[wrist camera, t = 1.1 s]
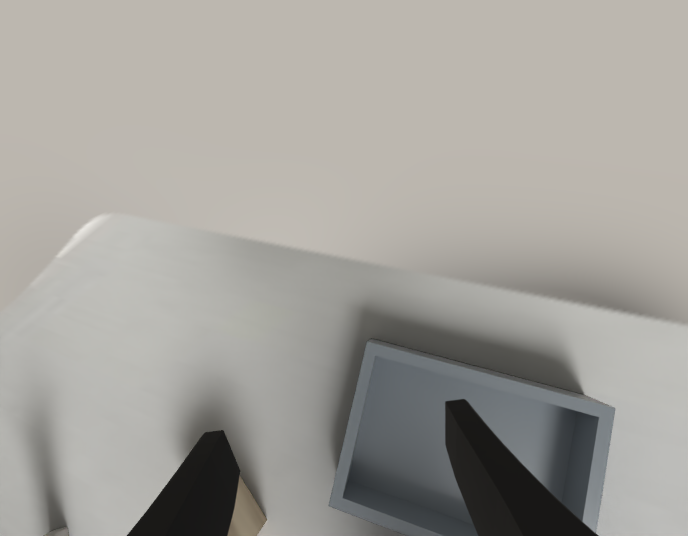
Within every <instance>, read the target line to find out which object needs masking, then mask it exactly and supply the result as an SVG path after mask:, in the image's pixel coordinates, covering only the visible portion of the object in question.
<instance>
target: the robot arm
mask: <svg viewBox="0 0 688 536" xmlns="http://www.w3.org/2000/svg"><path fill="white" fill-rule="evenodd" d="M445 445H446V449H447V452H448V456H449V459H450V463H451V466H452V469H453V472H454V476H455V479H456V482H457V484H458V487H459V489H460V492H461V494H462V497H463V499H464V502H465V504H466V507H467V509H468V512H469V514H470V517H471V519H472V522H473V524H474V527H475V529H476V531H477V534H478V536H598V535H597V534H596V533H595V532H594V531H592V530H591V529H590V528H589V527H588V526H587V525H586V524H585V523H583V522H582V521H581V520H580V519H579V518H578V517H577V516H576V515H574V514H573V513H572V512H571V511H570V510H569V509H568V508H567V507H566V506H565V505H564V504H562V503H561V502H560V501H559V500H558V499H557V498H556V497H555V496H554V495H553V494H552V493H551V492H550V491H549V490H548V489H547V488H546V487H545V486H544V485H543V484H542V483H541V482H540V481H539V480H538V479H537V478H536V477H535V476H534V475H533V474H532V473H531V472H530V471H529V470H528V469H527V468H526V467H525V466H524V465H523V464H522V463H521V462H520V461H519V460H518V459H517V458H516V457H515V456H514V454H513V453H512V452H511V451H510V450H509V449H508V448H507V447H506V446H505V445H504V444H503V443H502V442H501V440H500V439H499V438H498V437H497V436H496V435H495V434H494V432H493V431H492V430H491V429H490V428H489V427H488V426H487V424H486V423H485V422H484V421H483V420H482V418H481V417H480V416H479V415H478V414H477V412H476V411H475V410H474V409H473V407H472V406H471V405H470V404H469V402H468V401H467V400H465V399H459V400H451V401H445ZM239 476H240V469H239V467H238V464H237V462H236V459H235V457H234V455H233V452H232V450H231V447H230V445H229V443H228V440H227V438H226V435H225V433H224V431H223V430H221V431H213V432H205V433H204V434H203V436H202V437H201V438H200V440H199V441H198V442H197V444H196V445H195V446H194V448H193V449H192V451H191V452H190V453H189V455H188V456H187V457H186V459H185V460H184V462H183V463H182V464H181V466H180V467H179V469H178V470H177V471H176V473H175V474H174V475H173V477H172V478H171V479H170V481H169V482H168V483H167V485H166V486H165V487H164V489H163V490H162V491H161V493H160V494H159V495H158V497H157V498H156V499H155V501H154V502H153V503H152V505H151V506H150V507H149V509H148V510H147V511H146V513H145V514H144V515H143V516H142V518H141V519H140V520H139V521H138V523H137V524H136V525H135V526H134V527H133V529H132V530H131V531H130V532H129V534H128V535H127V536H227V535H228V532H229V528H230V524H231V520H232V516H233V512H234V508H235V502H236V496H237V490H238V483H239Z"/></svg>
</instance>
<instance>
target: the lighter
mask: <svg viewBox="0 0 688 536" xmlns="http://www.w3.org/2000/svg"><path fill="white" fill-rule="evenodd" d="M44 536H69V532H68V528H67V527H63V528H60V529H57V530H53V531H50V532H49V533H47V534H46V535H44Z"/></svg>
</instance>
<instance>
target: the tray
mask: <svg viewBox="0 0 688 536" xmlns="http://www.w3.org/2000/svg"><path fill="white" fill-rule="evenodd" d="M459 399H465V400H467V401H468V402H469V404H470V405H471V406H472V407H473V409H474V410H475V411H476V412H477V414H478V415H479V416H480V417H481V418H482V420H483V421H484V422H485V423H486V424H487V426H488V427H489V428H490V429H491V430H492V431H493V432H494V434H495V435H496V436H497V437H498V438H499V439H500V440H501V442H502V443H503V444H504V445H505V446H506V447H507V448H508V449H509V450H510V451H511V452H512V453H513V454H514V456H515V457H516V458H517V459H518V460H519V461H520V462H521V463H522V464H523V465H524V466H525V467H526V468H527V469H528V470H529V471H530V472H531V473H532V474H533V475H534V476H535V477H536V478H537V479H538V480H539V481H540V482H541V483H542V484H543V485H544V486H545V487H546V488H547V489H548V490H549V491H550V492H551V493H552V494H553V495H554V496H555V497H556V498H557V499H558V500H559V501H560V502H561V503H562V504H564V505H565V506H566V507H567V508H568V509H569V510H570V511H571V512H572V513H573V514H574V515H576V516H577V517H578V518H579V519H580V520H581V521H582V522H583V523H585V524H586V525H587V526H588V527H589V528H590V529H591V530H592V531H594V532H595V533H596V530H597V524H598V517H599V511H600V504H601V498H602V492H603V485H604V479H605V472H606V466H607V459H608V453H609V446H610V440H611V433H612V427H613V420H614V414H615V408H614V407H612V406H609V405H607V404H605V403H602V402H600V401H598V400H595V399H593V398H591V397H588V396H586V395H583V394H579V393H575V392H572V391H568V390H564V389H560V388H556V387H553V386H549V385H545V384H541V383H538V382H534V381H530V380H526V379H523V378H519V377H515V376H511V375H507V374H504V373H500V372H496V371H492V370H489V369H485V368H481V367H477V366H474V365H470V364H466V363H462V362H459V361H455V360H451V359H447V358H443V357H440V356H436V355H432V354H428V353H425V352H421V351H417V350H413V349H410V348H406V347H402V346H398V345H395V344H391V343H387V342H383V341H379V340H376V339H372V338H371V339H370V340H368V341H367V344H366V348H365V352H364V356H363V361H362V365H361V369H360V374H359V378H358V382H357V386H356V391H355V395H354V399H353V403H352V408H351V412H350V416H349V421H348V425H347V429H346V433H345V438H344V442H343V446H342V450H341V455H340V459H339V463H338V467H337V472H336V476H335V480H334V485H333V489H332V493H331V497H330V502H329V506H330V507H333V508H335V509H338V510H340V511H343V512H346V513H348V514H351V515H354V516H356V517H359V518H362V519H364V520H367V521H369V522H372V523H375V524H377V525H380V526H383V527H385V528H388V529H390V530H393V531H396V532H398V533H401V534H404V535H406V536H478V534H477V531H476V529H475V527H474V524H473V522H472V519H471V517H470V514H469V512H468V509H467V507H466V504H465V502H464V499H463V497H462V494H461V492H460V489H459V487H458V484H457V482H456V479H455V476H454V472H453V469H452V466H451V463H450V459H449V456H448V452H447V449H446V445H445V401H451V400H459Z"/></svg>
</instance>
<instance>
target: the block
mask: <svg viewBox="0 0 688 536" xmlns="http://www.w3.org/2000/svg"><path fill="white" fill-rule="evenodd" d="M266 521H267V519H266V517H265V516H264V514H263V512H262V511H261V509H260V508H259V506H258V504H257V503H256V501H255V499H254V498H253V496H252V495H251V493H250V491H249V490H248V488H247V486H246V485H245V483H244V482H243V480H242V478H241V477H240V476H239V483H238V490H237V496H236V502H235V508H234V512H233V516H232V520H231V524H230V528H229V532H228V535H227V536H257V534H258V533H259V531H260V530H261V528H262V527H263V525H264V524H265V522H266Z"/></svg>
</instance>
